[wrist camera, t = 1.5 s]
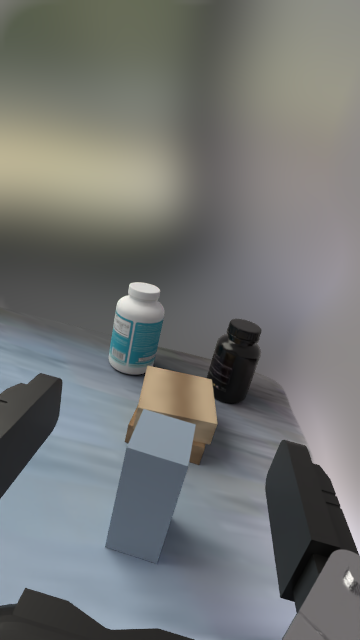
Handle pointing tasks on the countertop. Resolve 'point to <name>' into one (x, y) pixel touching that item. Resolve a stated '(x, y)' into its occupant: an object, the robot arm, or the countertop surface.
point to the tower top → (180, 400)
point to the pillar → (150, 485)
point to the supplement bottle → (235, 361)
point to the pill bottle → (136, 329)
